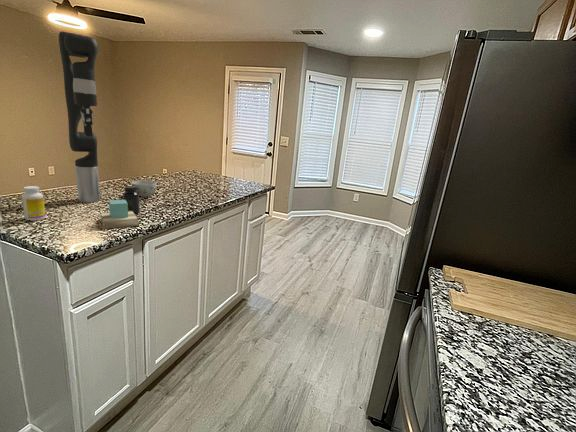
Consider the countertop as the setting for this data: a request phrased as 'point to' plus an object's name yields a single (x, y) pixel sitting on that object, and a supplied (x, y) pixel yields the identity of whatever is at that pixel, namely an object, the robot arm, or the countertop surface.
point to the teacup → (145, 187)
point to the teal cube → (118, 208)
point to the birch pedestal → (119, 220)
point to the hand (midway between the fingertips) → (88, 135)
